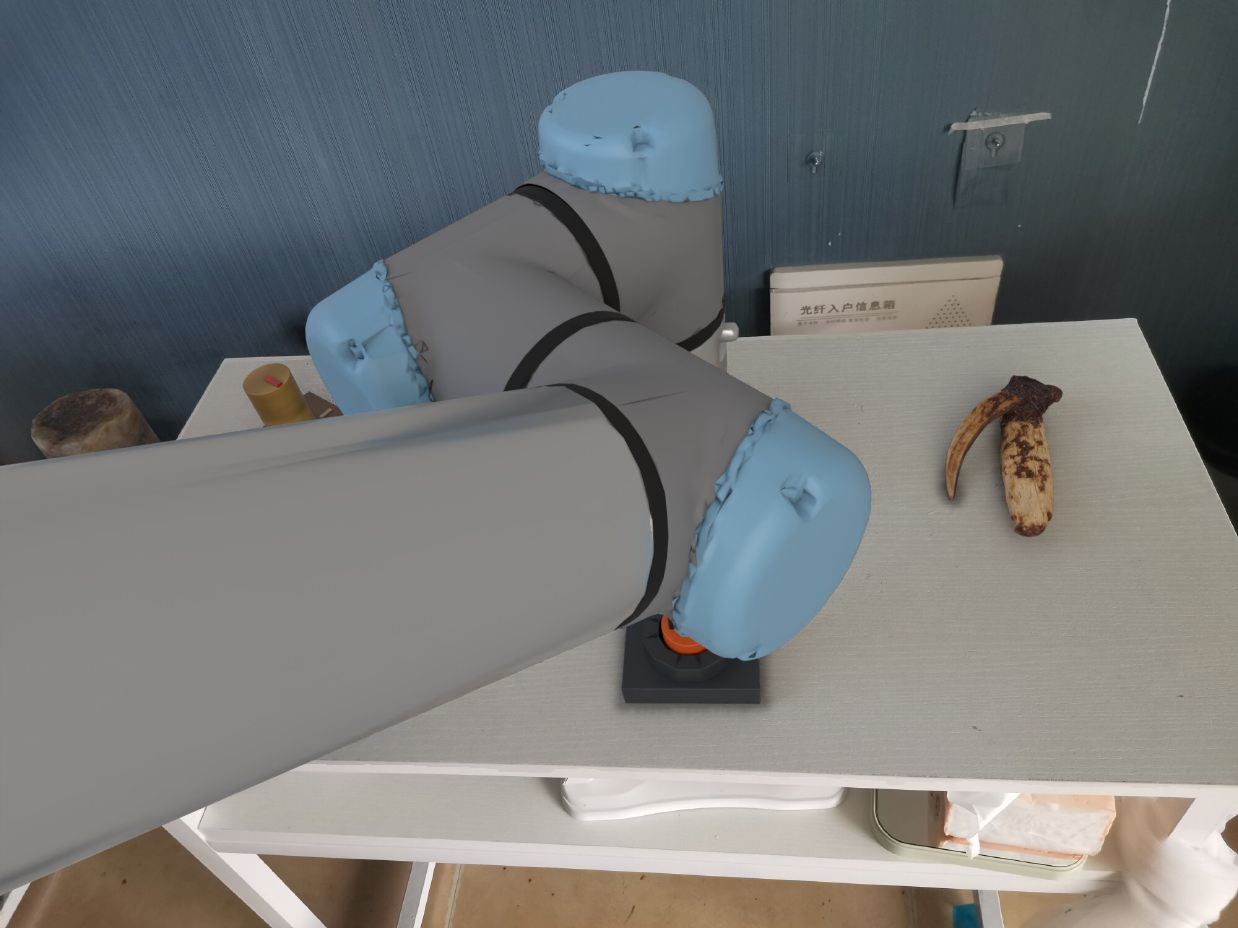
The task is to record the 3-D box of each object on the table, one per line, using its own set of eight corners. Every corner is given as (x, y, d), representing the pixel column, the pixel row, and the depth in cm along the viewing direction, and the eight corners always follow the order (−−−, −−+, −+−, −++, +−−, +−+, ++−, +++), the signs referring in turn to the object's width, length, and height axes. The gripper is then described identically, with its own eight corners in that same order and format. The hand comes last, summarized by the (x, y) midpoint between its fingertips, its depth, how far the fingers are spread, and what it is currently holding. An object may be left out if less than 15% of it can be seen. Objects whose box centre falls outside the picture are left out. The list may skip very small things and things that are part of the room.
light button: (662, 658, 65) (660, 646, 64) (664, 612, 68) (662, 599, 66) (717, 658, 64) (715, 645, 63) (717, 611, 67) (715, 598, 66)
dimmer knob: (266, 441, 87) (231, 382, 81) (301, 414, 89) (269, 355, 83) (294, 458, 85) (260, 398, 79) (329, 429, 87) (298, 369, 81)
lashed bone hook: (944, 396, 84) (942, 541, 72) (950, 357, 81) (948, 503, 69) (1052, 401, 82) (1068, 553, 70) (1062, 361, 78) (1080, 514, 66)
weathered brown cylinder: (179, 543, 83) (54, 384, 69) (253, 537, 82) (143, 376, 68) (149, 611, 78) (7, 456, 64) (228, 606, 77) (102, 447, 63)
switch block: (625, 703, 66) (618, 676, 63) (631, 612, 72) (625, 584, 69) (760, 704, 65) (759, 676, 62) (756, 611, 70) (756, 582, 67)
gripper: (730, 465, 42) (742, 702, 60) (727, 300, 51) (738, 548, 68) (576, 470, 44) (631, 702, 61) (599, 307, 52) (641, 549, 69)
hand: (688, 620), depth 64 cm, fingers closed
